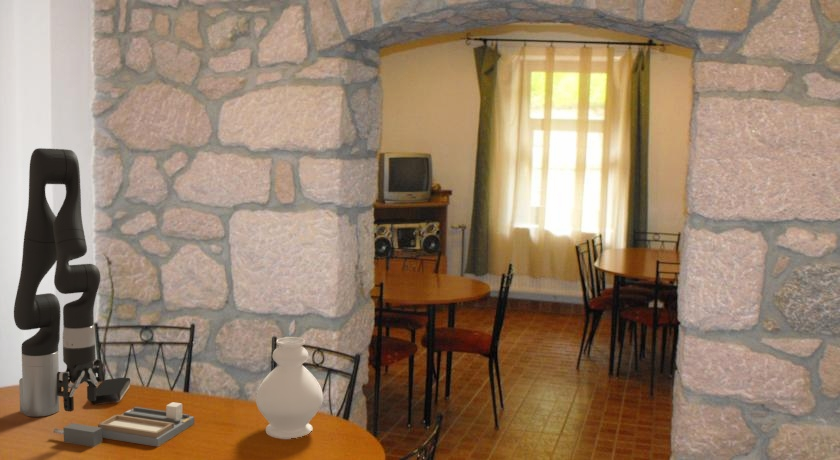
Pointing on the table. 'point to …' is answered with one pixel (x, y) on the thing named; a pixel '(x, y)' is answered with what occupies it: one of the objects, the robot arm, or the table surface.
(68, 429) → the grey block with bolt
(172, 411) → the switch tab
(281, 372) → the decorative vase
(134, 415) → the switch board
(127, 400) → the table surface
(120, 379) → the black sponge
